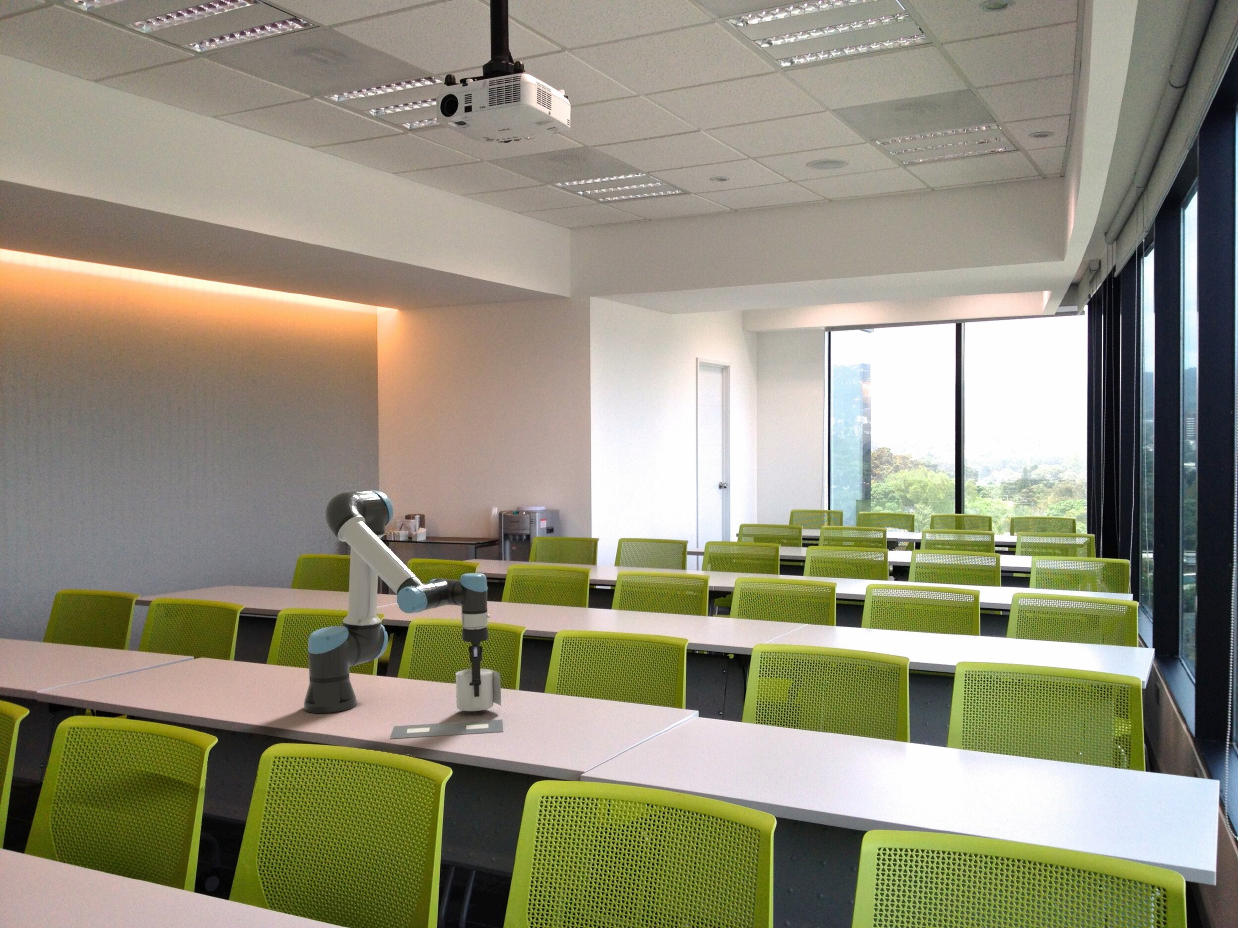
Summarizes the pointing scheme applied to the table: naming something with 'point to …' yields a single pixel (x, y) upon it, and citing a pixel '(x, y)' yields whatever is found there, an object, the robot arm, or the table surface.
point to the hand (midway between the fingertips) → (477, 702)
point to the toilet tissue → (488, 689)
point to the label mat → (447, 729)
